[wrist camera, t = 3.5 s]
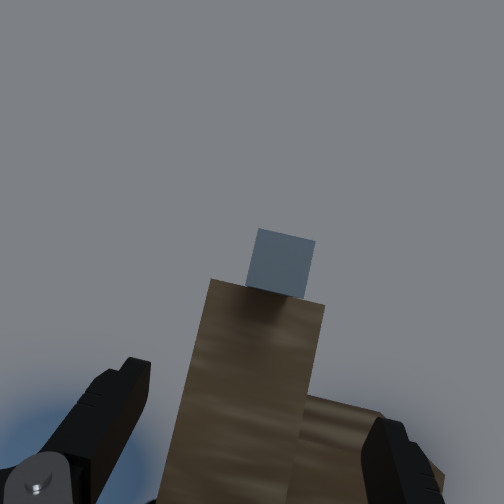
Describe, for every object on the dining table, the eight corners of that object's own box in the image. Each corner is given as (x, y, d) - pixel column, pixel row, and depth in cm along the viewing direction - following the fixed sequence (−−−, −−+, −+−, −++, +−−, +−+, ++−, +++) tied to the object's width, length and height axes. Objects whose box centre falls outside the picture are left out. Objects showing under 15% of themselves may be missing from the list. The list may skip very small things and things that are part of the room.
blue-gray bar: (250, 288, 43) (256, 261, 43) (277, 294, 42) (283, 268, 43) (245, 285, 20) (258, 228, 20) (303, 298, 20) (315, 241, 20)
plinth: (160, 551, 39) (225, 282, 43) (346, 599, 38) (395, 322, 42) (108, 694, 25) (210, 278, 29) (398, 775, 24) (466, 337, 28)
